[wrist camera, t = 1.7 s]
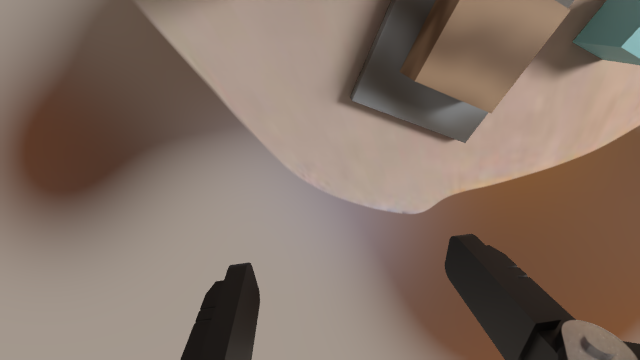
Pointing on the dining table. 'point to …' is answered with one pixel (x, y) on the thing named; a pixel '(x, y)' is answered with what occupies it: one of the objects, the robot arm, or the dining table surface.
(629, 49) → the teal cube
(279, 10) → the dining table surface
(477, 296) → the robot arm
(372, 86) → the stacking base
